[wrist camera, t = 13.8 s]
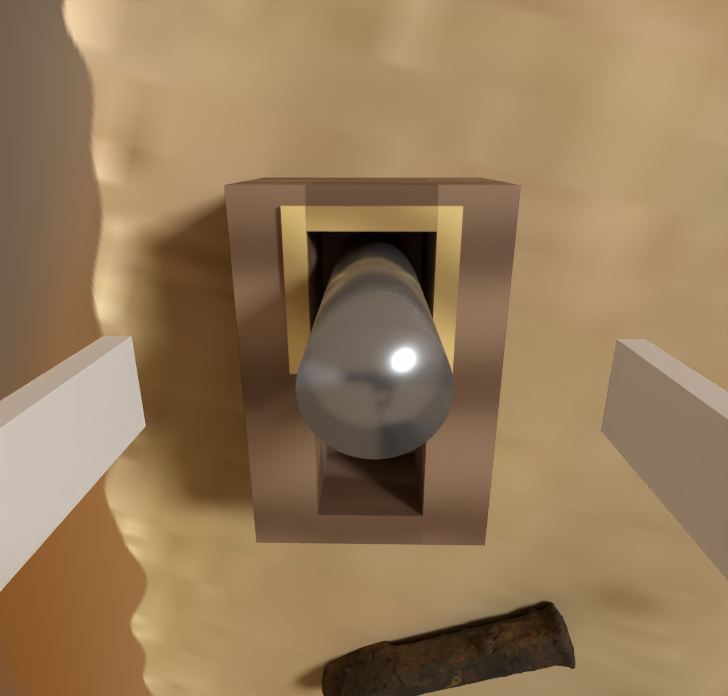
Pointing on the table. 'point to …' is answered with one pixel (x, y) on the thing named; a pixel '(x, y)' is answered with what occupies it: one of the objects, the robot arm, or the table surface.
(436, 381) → the peg
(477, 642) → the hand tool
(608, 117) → the table surface
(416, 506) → the hole block
